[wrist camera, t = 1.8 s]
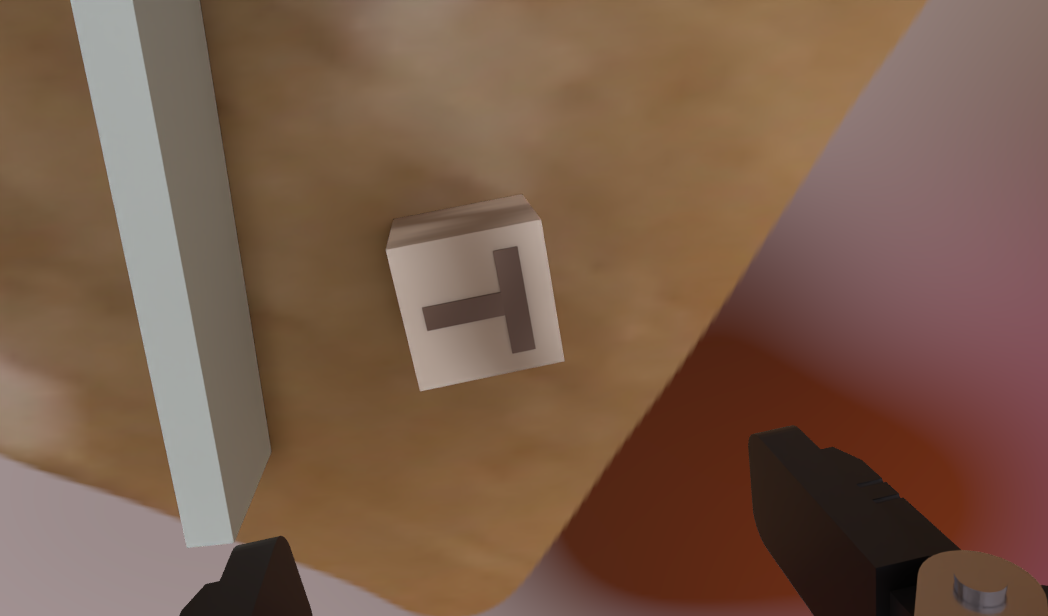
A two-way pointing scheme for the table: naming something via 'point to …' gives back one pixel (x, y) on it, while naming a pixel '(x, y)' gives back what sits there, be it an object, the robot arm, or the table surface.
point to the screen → (180, 250)
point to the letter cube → (474, 291)
